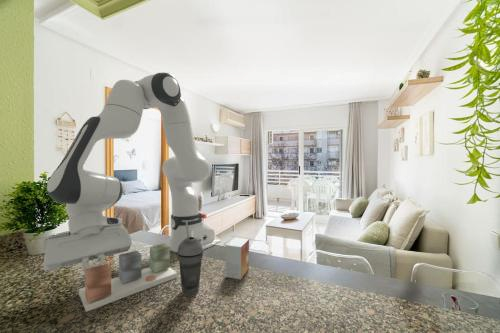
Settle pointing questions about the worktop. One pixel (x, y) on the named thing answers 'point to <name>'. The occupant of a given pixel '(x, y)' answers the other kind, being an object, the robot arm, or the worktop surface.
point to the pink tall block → (97, 282)
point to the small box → (236, 258)
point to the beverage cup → (190, 264)
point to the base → (129, 286)
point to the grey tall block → (129, 266)
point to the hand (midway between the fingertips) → (95, 273)
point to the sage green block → (159, 257)
